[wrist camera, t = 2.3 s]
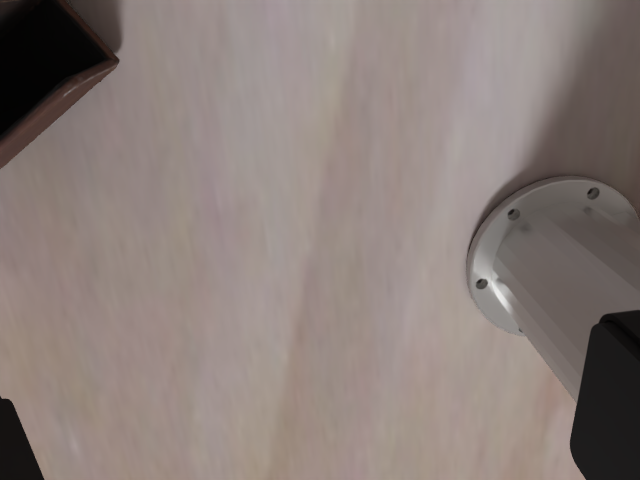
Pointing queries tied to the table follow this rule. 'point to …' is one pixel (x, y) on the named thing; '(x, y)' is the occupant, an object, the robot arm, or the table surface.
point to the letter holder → (43, 68)
